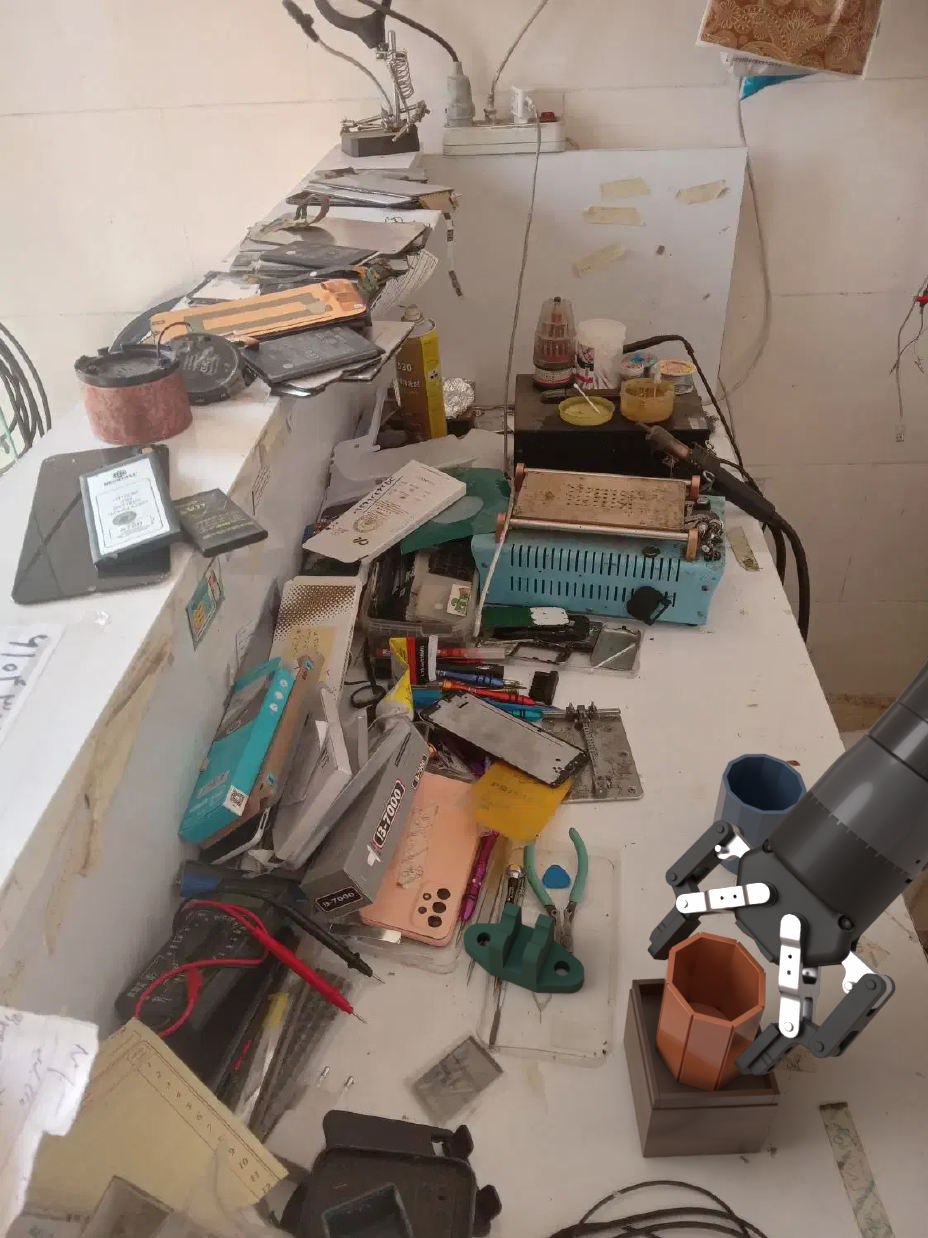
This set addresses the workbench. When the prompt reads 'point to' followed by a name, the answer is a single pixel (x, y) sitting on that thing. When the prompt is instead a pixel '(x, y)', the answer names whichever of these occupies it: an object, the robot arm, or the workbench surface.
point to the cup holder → (689, 1094)
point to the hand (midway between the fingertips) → (697, 1009)
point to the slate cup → (757, 797)
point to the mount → (524, 953)
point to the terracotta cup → (709, 1009)
